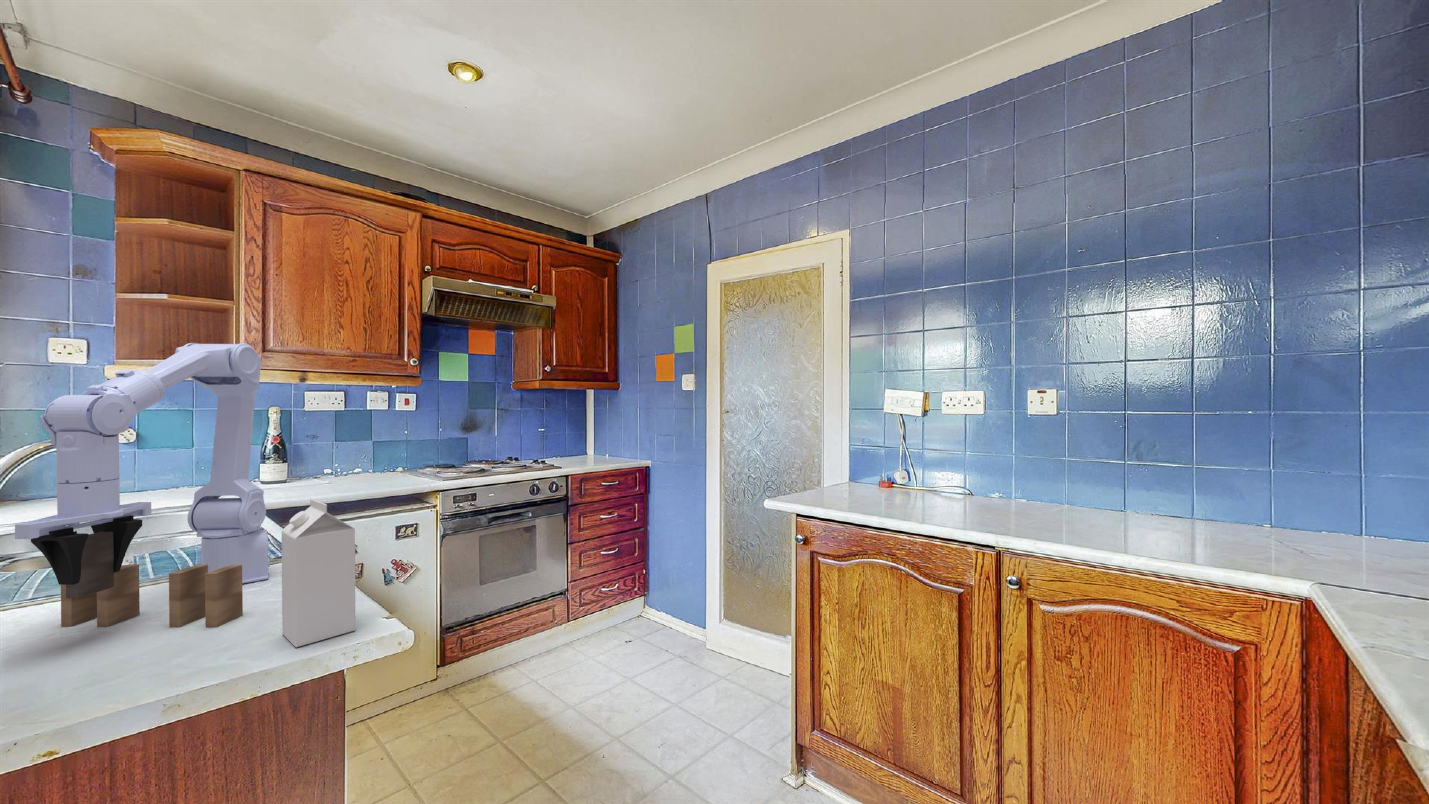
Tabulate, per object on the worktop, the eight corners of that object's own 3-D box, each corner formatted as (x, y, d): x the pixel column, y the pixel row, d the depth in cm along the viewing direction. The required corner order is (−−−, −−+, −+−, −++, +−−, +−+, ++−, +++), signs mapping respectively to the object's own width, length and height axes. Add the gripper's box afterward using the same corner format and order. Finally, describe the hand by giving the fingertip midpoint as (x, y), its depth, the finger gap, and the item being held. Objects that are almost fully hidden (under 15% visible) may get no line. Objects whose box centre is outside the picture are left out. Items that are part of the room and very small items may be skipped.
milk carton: (339, 619, 83) (338, 495, 83) (356, 631, 79) (355, 500, 79) (281, 634, 78) (280, 502, 78) (295, 649, 73) (294, 508, 73)
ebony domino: (103, 586, 78) (102, 531, 78) (114, 586, 78) (113, 531, 78) (65, 598, 73) (65, 539, 73) (77, 598, 73) (76, 539, 73)
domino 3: (198, 615, 85) (197, 564, 85) (208, 615, 85) (207, 564, 85) (169, 627, 80) (168, 573, 80) (179, 627, 80) (179, 573, 80)
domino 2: (129, 615, 85) (129, 564, 85) (139, 615, 85) (139, 564, 85) (97, 626, 81) (96, 573, 81) (107, 626, 81) (107, 573, 81)
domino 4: (232, 615, 85) (232, 564, 85) (242, 615, 85) (242, 564, 85) (205, 627, 80) (205, 573, 80) (216, 627, 80) (215, 573, 80)
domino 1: (95, 614, 85) (94, 564, 85) (105, 615, 85) (104, 564, 85) (61, 626, 81) (60, 573, 81) (71, 626, 81) (71, 573, 81)
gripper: (52, 489, 68) (53, 596, 68) (170, 473, 83) (171, 561, 83) (-3, 489, 68) (-1, 596, 68) (125, 473, 83) (126, 561, 83)
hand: (90, 577), depth 76 cm, fingers closed on ebony domino, 4 cm apart
